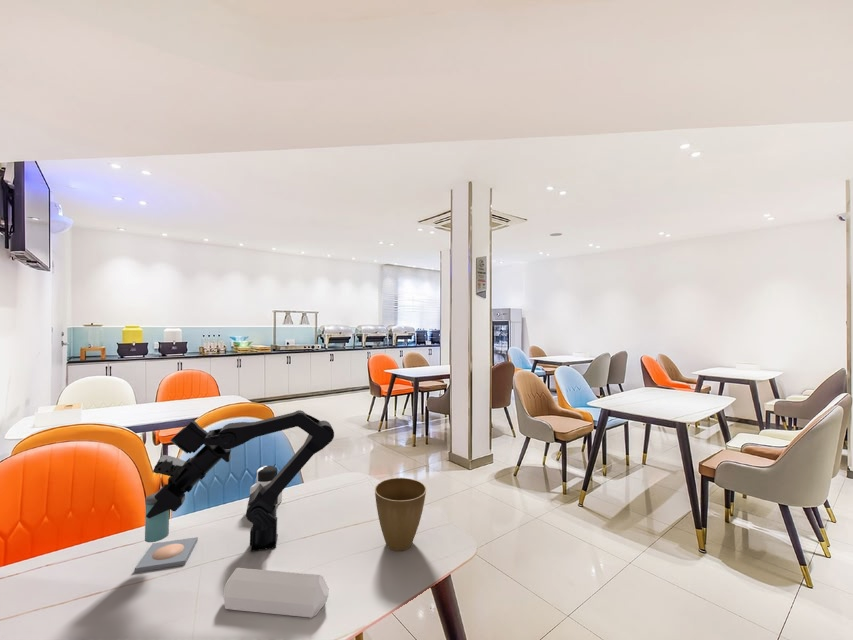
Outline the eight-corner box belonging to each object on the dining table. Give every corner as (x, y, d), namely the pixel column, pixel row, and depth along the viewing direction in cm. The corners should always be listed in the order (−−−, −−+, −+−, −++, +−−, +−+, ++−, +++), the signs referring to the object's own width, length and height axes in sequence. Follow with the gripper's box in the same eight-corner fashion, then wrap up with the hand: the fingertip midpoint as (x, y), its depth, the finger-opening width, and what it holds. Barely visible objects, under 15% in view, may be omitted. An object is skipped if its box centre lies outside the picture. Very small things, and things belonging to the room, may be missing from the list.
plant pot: (364, 554, 100) (366, 495, 100) (385, 526, 114) (386, 475, 114) (416, 564, 96) (417, 503, 96) (431, 534, 110) (431, 481, 110)
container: (282, 501, 129) (283, 464, 130) (270, 511, 122) (272, 472, 122) (261, 499, 130) (262, 463, 130) (249, 510, 122) (250, 471, 123)
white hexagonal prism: (337, 573, 86) (241, 565, 88) (327, 576, 80) (225, 567, 82) (330, 613, 82) (231, 603, 85) (320, 619, 76) (213, 608, 78)
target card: (197, 540, 104) (197, 536, 104) (185, 564, 94) (185, 560, 94) (152, 547, 101) (152, 543, 101) (134, 572, 91) (134, 568, 91)
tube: (173, 530, 97) (174, 491, 97) (161, 542, 92) (162, 500, 92) (152, 531, 97) (153, 492, 97) (139, 543, 91) (140, 501, 92)
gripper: (186, 435, 105) (138, 479, 101) (165, 456, 88) (107, 510, 83) (216, 459, 108) (171, 502, 103) (202, 484, 90) (148, 538, 86)
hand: (151, 512), depth 94 cm, fingers closed on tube, 5 cm apart
